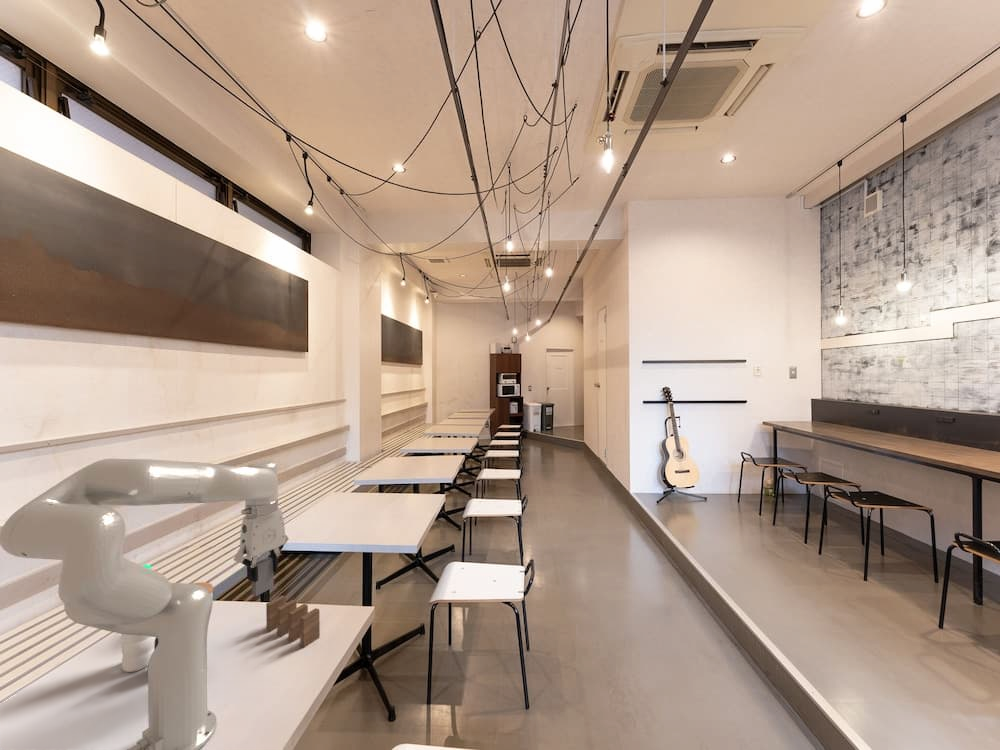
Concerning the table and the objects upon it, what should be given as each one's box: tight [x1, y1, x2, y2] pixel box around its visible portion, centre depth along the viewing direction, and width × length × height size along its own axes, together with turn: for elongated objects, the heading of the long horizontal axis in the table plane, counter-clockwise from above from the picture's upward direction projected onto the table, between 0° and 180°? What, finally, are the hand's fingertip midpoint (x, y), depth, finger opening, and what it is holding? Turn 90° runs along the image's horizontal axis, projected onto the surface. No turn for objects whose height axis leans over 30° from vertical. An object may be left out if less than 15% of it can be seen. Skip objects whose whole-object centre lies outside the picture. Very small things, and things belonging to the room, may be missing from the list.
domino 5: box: [299, 608, 321, 649], centre depth 114 cm, size 2×5×8 cm, turn 152°
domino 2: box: [265, 595, 287, 633], centre depth 121 cm, size 2×5×8 cm, turn 152°
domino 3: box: [276, 599, 297, 638], centre depth 119 cm, size 2×5×8 cm, turn 152°
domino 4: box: [287, 603, 309, 643], centre depth 116 cm, size 2×5×8 cm, turn 152°
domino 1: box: [251, 556, 275, 597], centre depth 109 cm, size 2×5×8 cm, turn 155°
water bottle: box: [121, 564, 156, 673], centre depth 106 cm, size 7×7×25 cm
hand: (263, 574), depth 109 cm, fingers closed on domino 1, 4 cm apart
